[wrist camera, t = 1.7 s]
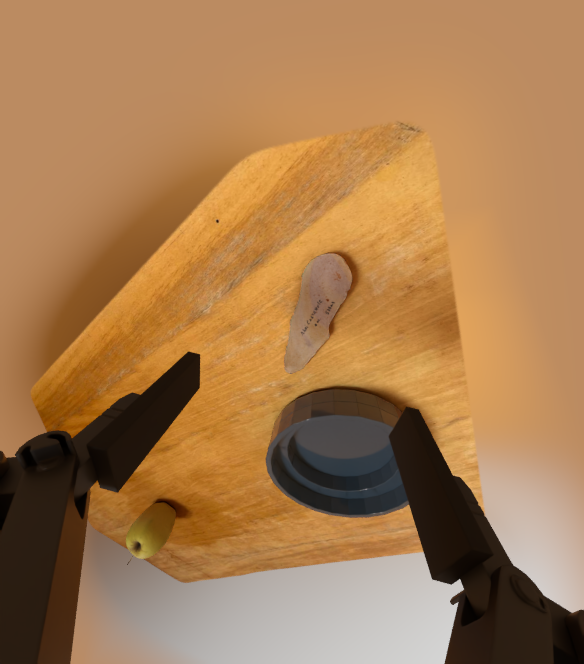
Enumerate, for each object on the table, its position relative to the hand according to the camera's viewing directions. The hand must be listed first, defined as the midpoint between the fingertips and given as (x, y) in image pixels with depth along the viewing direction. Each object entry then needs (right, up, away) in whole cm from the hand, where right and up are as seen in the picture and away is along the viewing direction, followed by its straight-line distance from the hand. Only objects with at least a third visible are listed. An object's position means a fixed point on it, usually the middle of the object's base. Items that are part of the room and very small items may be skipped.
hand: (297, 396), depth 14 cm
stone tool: (+2, +6, +11) cm, 13 cm away
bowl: (+7, -12, +19) cm, 24 cm away
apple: (-29, -35, +36) cm, 58 cm away
